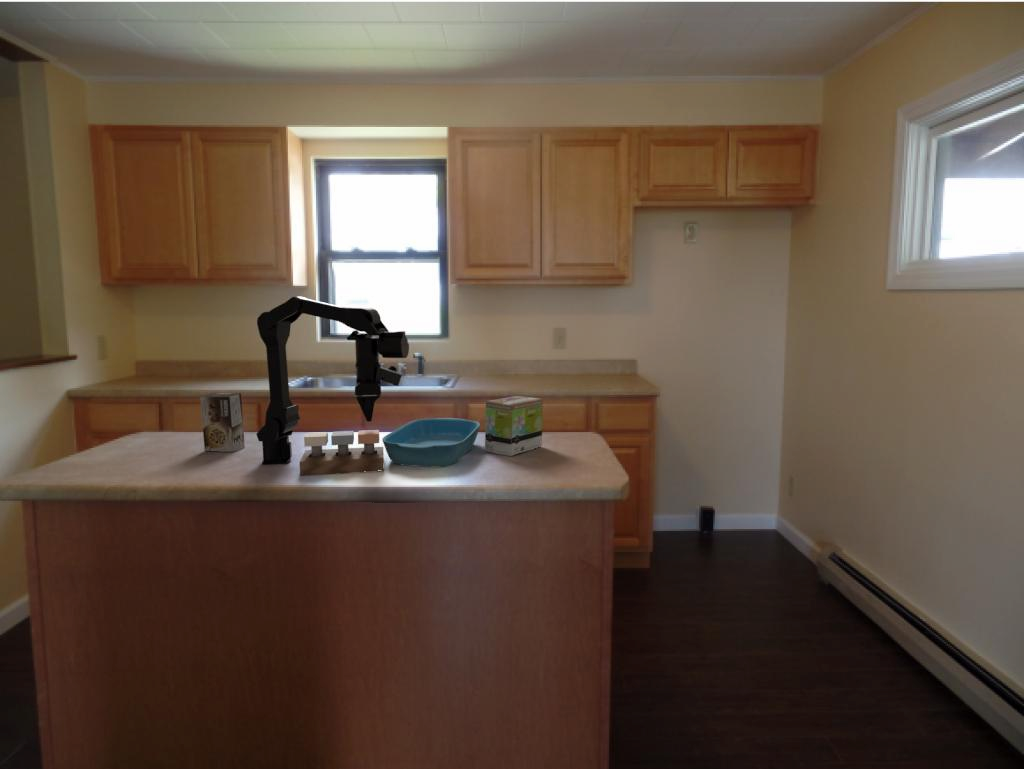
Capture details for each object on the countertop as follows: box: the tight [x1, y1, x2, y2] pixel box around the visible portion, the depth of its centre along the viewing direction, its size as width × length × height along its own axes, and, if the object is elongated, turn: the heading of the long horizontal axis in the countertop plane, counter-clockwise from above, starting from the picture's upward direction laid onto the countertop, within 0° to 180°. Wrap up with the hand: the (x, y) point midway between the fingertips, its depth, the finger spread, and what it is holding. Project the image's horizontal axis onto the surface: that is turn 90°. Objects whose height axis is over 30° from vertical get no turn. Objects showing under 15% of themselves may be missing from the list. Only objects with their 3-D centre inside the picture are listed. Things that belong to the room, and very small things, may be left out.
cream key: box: [303, 431, 329, 457], centre depth 156 cm, size 5×5×6 cm
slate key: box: [330, 430, 355, 456], centre depth 157 cm, size 5×5×6 cm
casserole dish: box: [381, 417, 481, 467], centre depth 172 cm, size 37×22×7 cm, turn 170°
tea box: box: [484, 395, 544, 457], centre depth 176 cm, size 15×10×15 cm, turn 143°
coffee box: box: [199, 392, 246, 453], centre depth 176 cm, size 9×6×16 cm
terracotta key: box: [357, 429, 380, 455], centre depth 158 cm, size 5×5×6 cm
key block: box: [299, 446, 384, 476], centre depth 158 cm, size 20×12×4 cm, turn 102°
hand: (369, 418), depth 158 cm, fingers open, 9 cm apart
